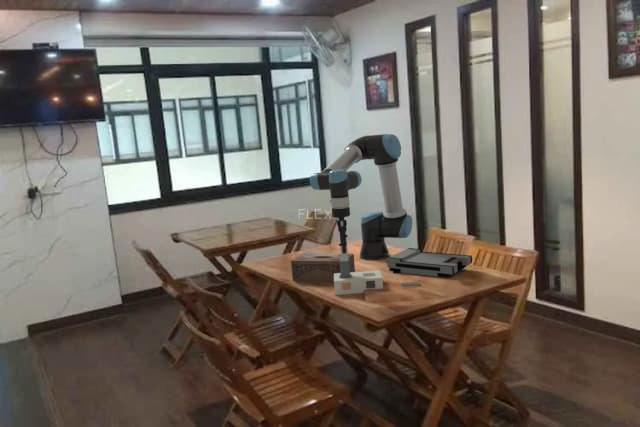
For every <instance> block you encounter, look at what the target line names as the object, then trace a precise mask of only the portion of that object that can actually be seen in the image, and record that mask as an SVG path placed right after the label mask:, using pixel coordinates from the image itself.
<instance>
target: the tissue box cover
mask: <svg viewBox="0 0 640 427" xmlns="http://www.w3.org/2000/svg"><path fill="white" fill-rule="evenodd" d="M340 259H341V253H330V252H329V253H326V252H325V253H323V252H321V253H319V252H318V253H313V252H303V253H301V254H299V255H297V256H296V257H295V258H293V259H291V260H290V266H291V276H292V277H291V278H292V281H293V282H311V281H318V282H319V283H334V274H335V273H340ZM348 259H349V265H350V272H356V271H355V270H356V269H355V267H356V266H355V254H354V253H348Z"/></svg>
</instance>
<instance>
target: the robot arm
mask: <svg viewBox="0 0 640 427" xmlns="http://www.w3.org/2000/svg"><path fill="white" fill-rule="evenodd" d="M401 154H402V146H401V142H400V140H399V138H398V137H397V136H396V135H395V134H393V133H391V134H390V133H388V134H387V133H382V134H373V135H371V134H370V135H364V136H363V135H362V136H360V137H358V138H356V139H355V140H353V141H352V142H351V141H350V143H349V144H348V145H347V146H345V147H344V149H343V152H342V153H341V154H339V155H338V156H337V157H336V158H335V159H334V160H333V161H332V162H331V163H330V164H329V165H328V166H326V168H324V169H323V170H322V171H320V172H314V173H311V175H310V178H309V184H310V187H311V188H312V190H315V191H317V190H318V191H329V193H330V200H329V203H331V204H330V205H331V216H332V218H336V219H338V220H336V226H337V230H338V232H339V242H340V243H338V246H339V247H340V254H341V258H342V261H348V254H349V253H348V252H349V251H348V242H347V238H348V234H347V233H346V232H347V229H348V228H347V225H348V224H347V223H348V222H347V219H345V218H348V217H350V215H351V208H350V196H349V195H350V194H349V191H351V190H355V189H357V188H359V186H361V184H362V180H363V179H362V175H361V174H360V172H358V171H356V170H350V168H351V167H352V166H354V164H358V163H359V162H361V161H367V160H373V162H374V165H375V166H376V167H377V168H378V172H379V178H380V186H381V190H382V197H383V202H384V208H385V211H384V212H383V211H376V212H375V211H374V212H369V213H365V214H363V215H362V216H360V225H361V227H360V228H361V240H362V242H361V243H362V244H361V248H360V251H359V257H360V259H362V260H368V261H370V260H371V261H372V260H373V261H374V260H375V261H376V260H382V259H383V260H384V259H387V258H388V257H390V252H389V249H388V246H387V244H386V241H385V238H387V239H388V238H390V239H406V238H408V237H409V236H410V235H411V232H412V229H413V218H412V215H410V214H407V213H408V212H407V210H406V209H405V208H404V206H403V201H402V194H401V187H400V181H399V175H398V170H397V169H398V168H397V163H398V161H399V158H400V157H401ZM349 170H350V171H349Z"/></svg>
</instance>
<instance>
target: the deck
mask: <svg viewBox="0 0 640 427" xmlns="http://www.w3.org/2000/svg"><path fill="white" fill-rule="evenodd" d="M400 285H401V287H402V289H413V288H423V285H422V283H421V282H420V281H409V282H408V281H407V282H400Z"/></svg>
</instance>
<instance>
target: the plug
mask: <svg viewBox="0 0 640 427" xmlns="http://www.w3.org/2000/svg"><path fill="white" fill-rule="evenodd" d="M340 273H341V278H350V265H349V259H348V261H342V258H341V259H340Z"/></svg>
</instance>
